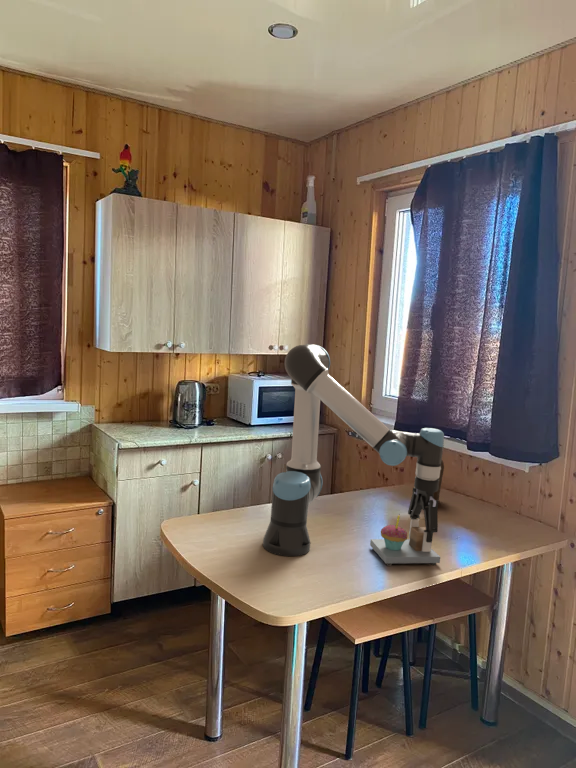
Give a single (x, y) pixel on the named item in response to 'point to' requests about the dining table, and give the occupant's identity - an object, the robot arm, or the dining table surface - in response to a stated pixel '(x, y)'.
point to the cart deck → (403, 554)
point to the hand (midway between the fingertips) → (419, 544)
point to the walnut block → (417, 538)
